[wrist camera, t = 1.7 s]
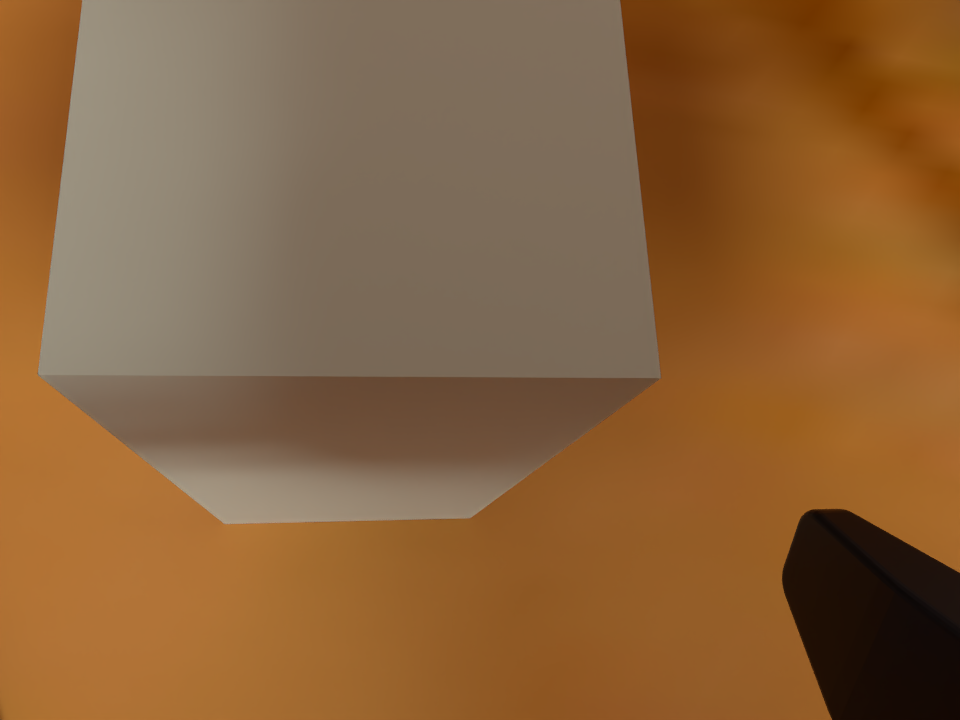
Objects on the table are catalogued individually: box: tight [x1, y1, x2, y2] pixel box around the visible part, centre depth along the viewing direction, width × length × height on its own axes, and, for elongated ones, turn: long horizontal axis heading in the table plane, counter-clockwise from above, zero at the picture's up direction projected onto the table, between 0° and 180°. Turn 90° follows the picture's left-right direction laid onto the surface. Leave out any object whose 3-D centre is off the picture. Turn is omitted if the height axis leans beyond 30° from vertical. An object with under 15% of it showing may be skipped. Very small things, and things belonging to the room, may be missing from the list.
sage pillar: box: [38, 0, 661, 524], centre depth 14 cm, size 6×6×12 cm
